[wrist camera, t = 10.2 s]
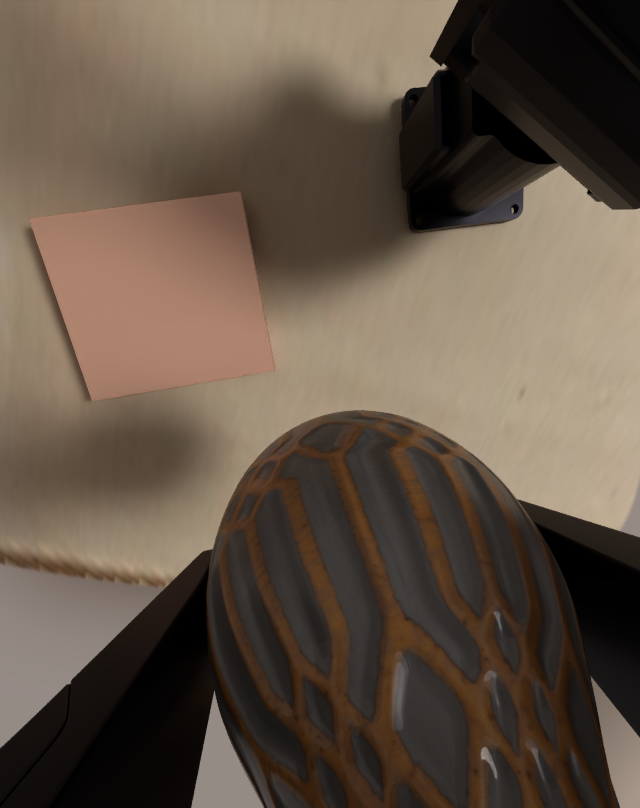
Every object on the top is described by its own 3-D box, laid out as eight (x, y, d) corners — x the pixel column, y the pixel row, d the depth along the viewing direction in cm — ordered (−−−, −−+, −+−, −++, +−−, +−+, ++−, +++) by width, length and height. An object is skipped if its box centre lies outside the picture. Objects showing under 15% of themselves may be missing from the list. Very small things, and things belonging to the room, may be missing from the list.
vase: (472, 476, 11) (1060, 934, 3) (340, 604, 12) (484, 1295, 3) (338, 342, 10) (780, 448, 1) (192, 498, 10) (-264, 1348, 2)
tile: (240, 191, 15) (274, 370, 18) (244, 203, 17) (275, 367, 19) (28, 218, 15) (92, 401, 17) (52, 228, 16) (107, 395, 18)
